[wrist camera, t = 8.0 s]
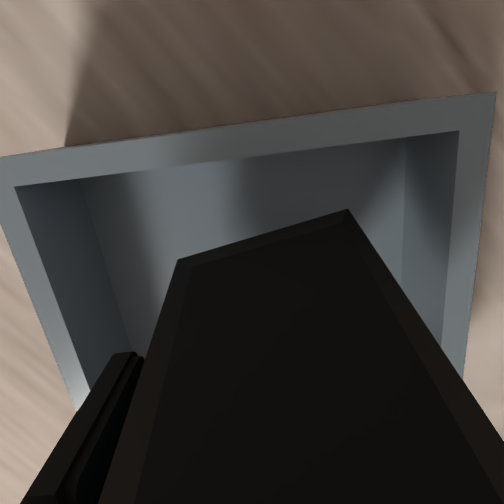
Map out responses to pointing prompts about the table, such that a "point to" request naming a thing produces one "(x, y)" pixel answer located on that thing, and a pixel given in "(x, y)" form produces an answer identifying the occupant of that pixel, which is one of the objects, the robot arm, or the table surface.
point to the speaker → (300, 385)
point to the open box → (244, 214)
